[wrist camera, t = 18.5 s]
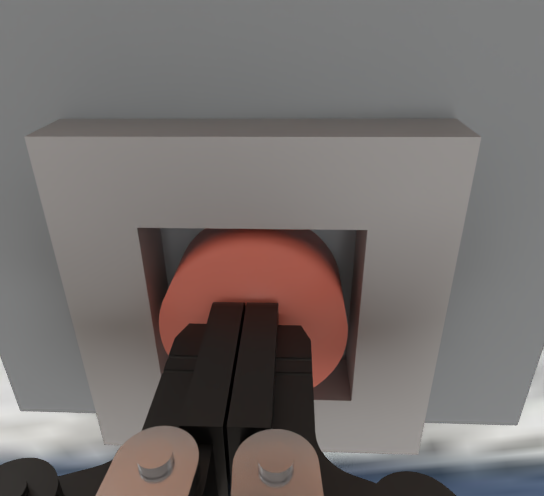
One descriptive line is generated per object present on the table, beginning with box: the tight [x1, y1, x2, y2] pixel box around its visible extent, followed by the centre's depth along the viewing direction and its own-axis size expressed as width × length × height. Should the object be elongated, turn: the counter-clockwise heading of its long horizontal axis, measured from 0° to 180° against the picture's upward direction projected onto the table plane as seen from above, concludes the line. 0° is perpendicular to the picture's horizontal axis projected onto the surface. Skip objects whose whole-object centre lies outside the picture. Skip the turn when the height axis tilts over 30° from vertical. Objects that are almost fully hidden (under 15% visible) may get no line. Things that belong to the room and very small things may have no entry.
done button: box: [159, 228, 348, 388], centre depth 12 cm, size 4×4×2 cm
